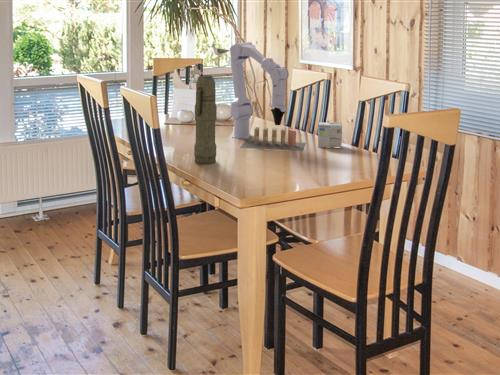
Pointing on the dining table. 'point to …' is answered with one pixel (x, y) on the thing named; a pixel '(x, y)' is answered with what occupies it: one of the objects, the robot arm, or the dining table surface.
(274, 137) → the domino
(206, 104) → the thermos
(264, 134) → the domino
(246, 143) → the rubber mat
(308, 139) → the dining table surface
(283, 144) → the domino
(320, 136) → the light bulb box
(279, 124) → the robot arm
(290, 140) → the domino
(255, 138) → the domino
